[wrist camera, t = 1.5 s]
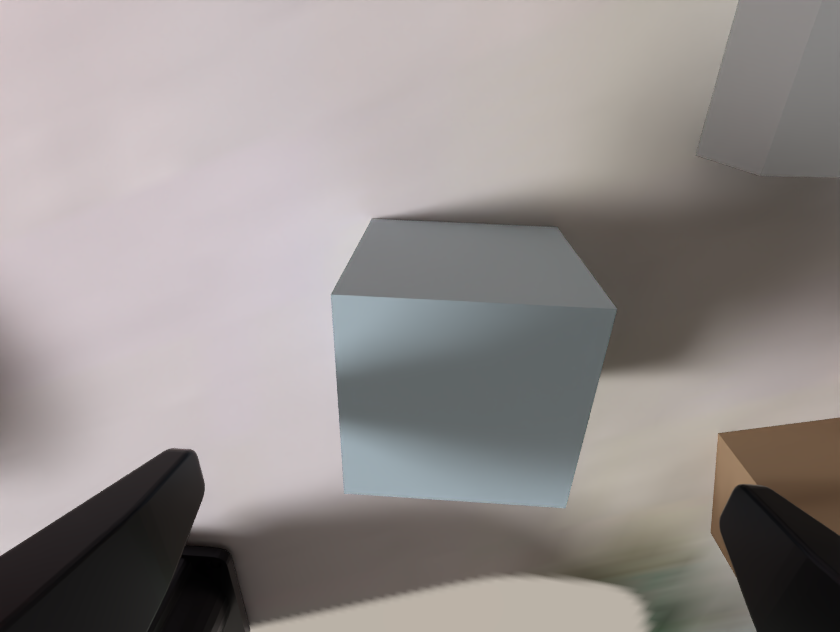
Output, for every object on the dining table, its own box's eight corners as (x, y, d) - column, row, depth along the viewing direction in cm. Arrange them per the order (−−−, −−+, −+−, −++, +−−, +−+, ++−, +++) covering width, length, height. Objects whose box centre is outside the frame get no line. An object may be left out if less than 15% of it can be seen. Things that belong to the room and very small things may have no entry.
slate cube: (530, 378, 15) (565, 508, 10) (375, 369, 15) (344, 493, 10) (556, 226, 12) (617, 309, 8) (372, 217, 12) (331, 294, 8)
